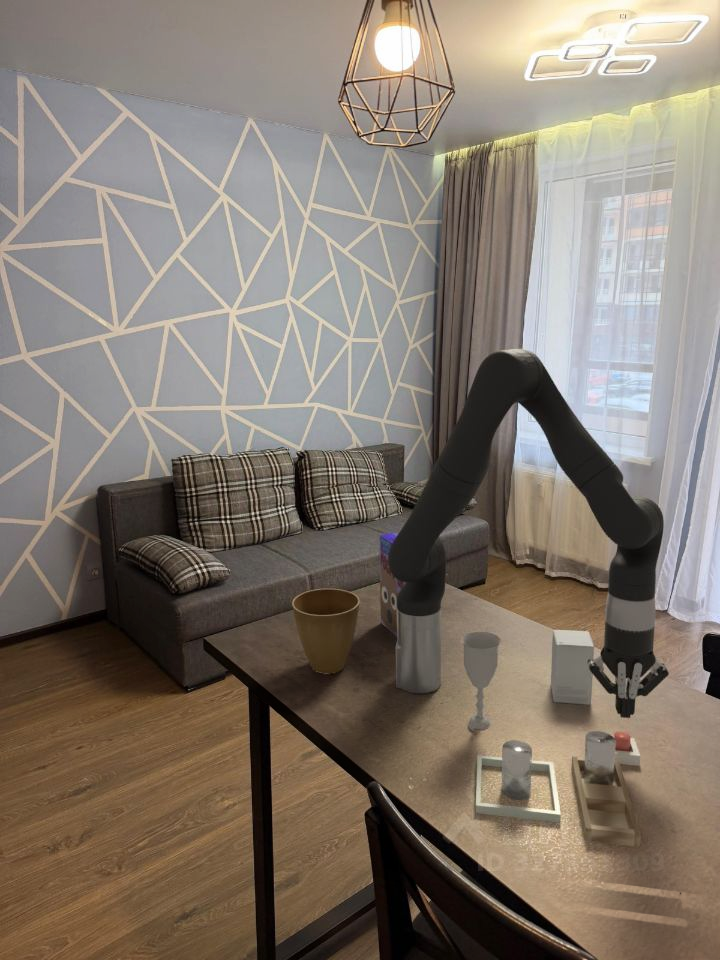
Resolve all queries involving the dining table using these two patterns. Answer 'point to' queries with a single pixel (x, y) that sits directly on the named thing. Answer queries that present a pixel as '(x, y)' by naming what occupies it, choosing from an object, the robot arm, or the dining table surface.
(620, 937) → the dining table surface
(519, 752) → the cylinder
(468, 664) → the chalice
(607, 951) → the dining table surface
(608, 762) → the cylinder
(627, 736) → the button
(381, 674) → the dining table surface
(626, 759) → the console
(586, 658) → the supplement box
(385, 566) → the cereal box
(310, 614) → the plant pot
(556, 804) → the square tray frame
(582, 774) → the pocket board
